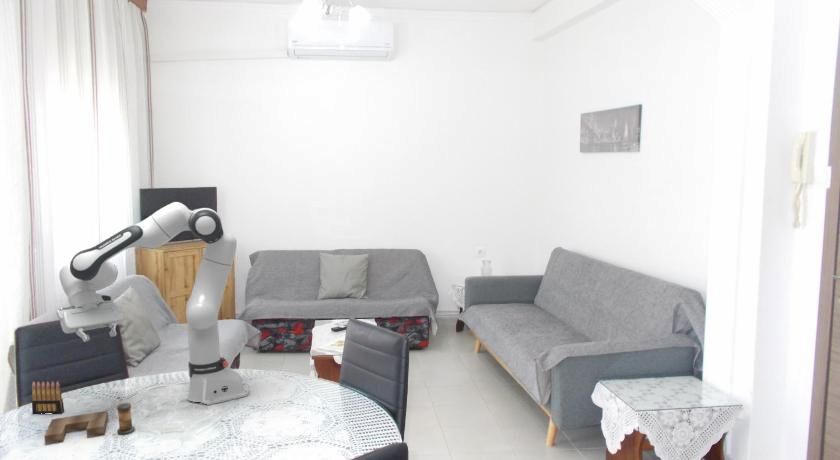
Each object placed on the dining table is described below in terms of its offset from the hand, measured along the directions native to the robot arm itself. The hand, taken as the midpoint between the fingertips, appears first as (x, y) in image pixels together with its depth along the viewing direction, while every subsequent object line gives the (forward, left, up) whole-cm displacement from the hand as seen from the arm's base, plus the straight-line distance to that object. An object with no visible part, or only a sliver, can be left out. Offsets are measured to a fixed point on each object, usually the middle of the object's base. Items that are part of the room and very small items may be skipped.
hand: (100, 338), depth 214 cm
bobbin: (-6, +11, -30) cm, 33 cm away
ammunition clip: (+21, -18, -30) cm, 40 cm away
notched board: (+9, +4, -30) cm, 31 cm away
